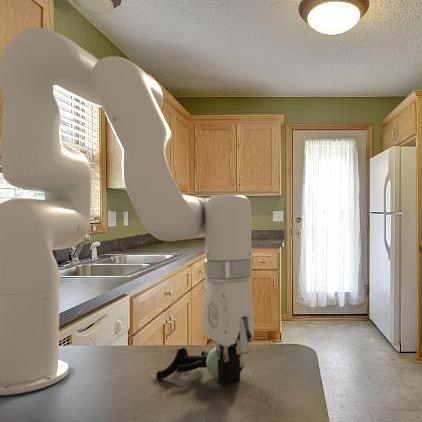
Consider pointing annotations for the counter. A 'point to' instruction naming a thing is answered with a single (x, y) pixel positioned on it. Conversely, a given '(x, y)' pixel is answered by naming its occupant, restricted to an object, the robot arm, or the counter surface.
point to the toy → (194, 363)
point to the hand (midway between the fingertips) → (229, 382)
